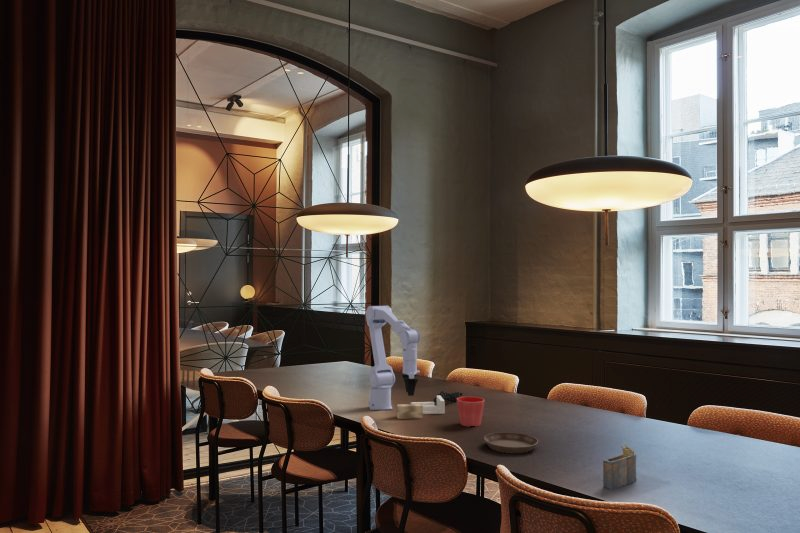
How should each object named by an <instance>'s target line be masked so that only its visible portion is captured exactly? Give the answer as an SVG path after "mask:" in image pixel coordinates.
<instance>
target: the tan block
mask: <svg viewBox="0 0 800 533" xmlns="http://www.w3.org/2000/svg"><path fill="white" fill-rule="evenodd" d="M423 417H424V414H423V406H422V404H411V403H402V404H396V418H397V419H399V420H401V419H423Z"/></svg>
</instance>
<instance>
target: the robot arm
mask: <svg viewBox="0 0 800 533" xmlns="http://www.w3.org/2000/svg"><path fill="white" fill-rule="evenodd" d="M365 319H366V320H365V321H366V324H367V326H368V328H369V329H368V330H369V337H370V342H371V349H372V355H373V356H372V357H373V361H374V362H373V363H374V366H372V368H371V369H370V371H369V383H370V384H371V386H372V387H369V400H368V406H369V410H370V411H371V410H372V411H373V410H374V411H375V410H376V411H377V410H378V411H380V410H381V411H382V410H385V411H386V410H393V406H392V400H391V398H392V388H393V385H394V384H395V382H396V376H395V373H394V371H393V367H392V366H391V365H389V364H388V363H387V357H386V356H387V355H386V350H385V345H384V337H383V331H382V327H384V326H385V325H386V324H389V326H391V328H392V332H394V333H395V334H396V336H398V338H399V341H400V343H401V349H402V374H401V377H402V378H403V382H404V386H405V391H406V393H407V396H410V397H413V396H414V395H415V390H416V386H417V383H418V381H419V378H418V377H416V376H417V374H418V373H419V374H420V373H421V372H420V370H418V344H419V343H420V341H421V334H420V332H419V331H418V329H416V328H415V329H413V328H411V327H410V326H409V325H408V324H406V322H405V320H403V319H402V320H401V319H399V320H398V318H397V317H396V315H395V314H394V313H393V309H392V308H391V307H390V306H389V305H388V304H387V305H369V306H368V307H367V308H366V311H365Z"/></svg>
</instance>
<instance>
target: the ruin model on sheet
mask: <svg viewBox="0 0 800 533" xmlns="http://www.w3.org/2000/svg"><path fill="white" fill-rule="evenodd" d="M621 448H622V454H620V455H616V456H613V457H608V459H607V460H606V459H602V469H603V470H602V477H603V480H602V483H603V484H602V487H603V488H605V487H606V489H608V488H609V489H608V490H611V489H612V490H614V488H615V489H618V488H620V486H621V487H624V486H626V484H627V485H629V484H631V482H632V483H635V482H636V481H637V454H635V450H632V449H631V448H630V447H628V446H627V445H625V446H621ZM623 485H624V486H623ZM617 487H618V488H617Z"/></svg>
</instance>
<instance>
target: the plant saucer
mask: <svg viewBox="0 0 800 533" xmlns="http://www.w3.org/2000/svg"><path fill="white" fill-rule="evenodd" d="M483 439H484V442H485V443H486V445H487V446H488V447H489V448H490V449H492V450H493V451H495V450H496V452H500V453H504V452H505V453H507V454H524V452H525V453H529V452H531V451H532V450H533V449H534V448H535V447H536V446H537V445H538V443H539V440H538V439H537V438H536V437H534V436H532V435H529V434H524V433H520V432H509V431H507V432H506V431H503V432H502V431H501V432H500V431H499V432H492V433H488V434H486V435H484V436H483ZM528 451H529V452H528Z"/></svg>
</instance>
